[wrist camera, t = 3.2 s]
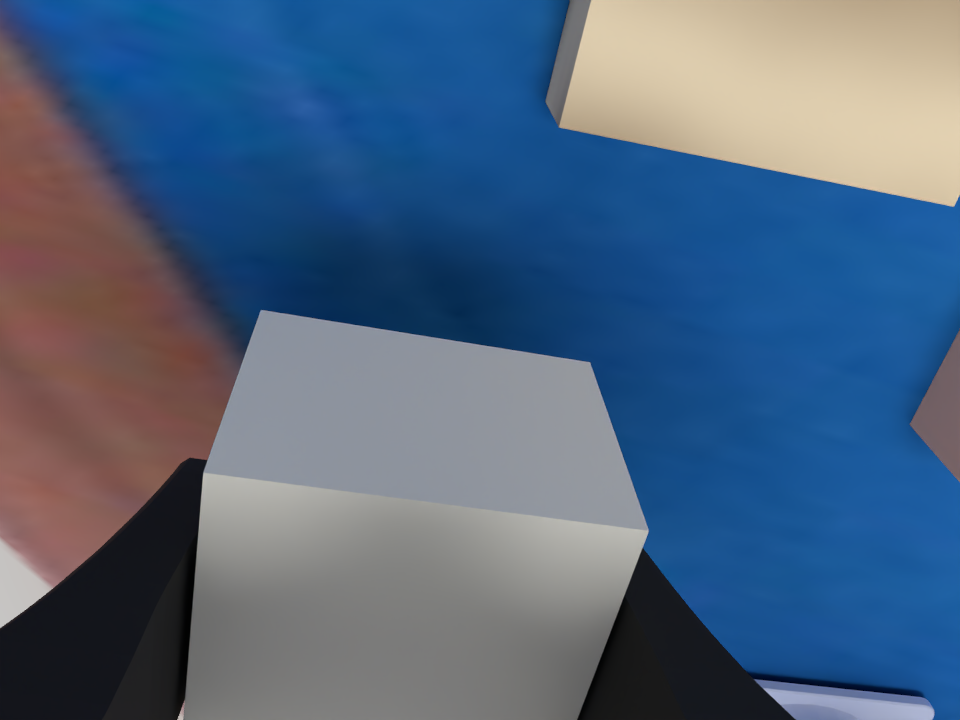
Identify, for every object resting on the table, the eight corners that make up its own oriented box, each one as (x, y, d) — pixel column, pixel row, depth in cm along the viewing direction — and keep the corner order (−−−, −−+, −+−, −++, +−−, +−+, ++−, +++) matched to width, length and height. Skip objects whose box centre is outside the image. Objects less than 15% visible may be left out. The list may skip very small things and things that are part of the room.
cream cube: (516, 601, 16) (543, 806, 13) (233, 569, 15) (179, 777, 12) (589, 361, 14) (648, 531, 10) (260, 309, 13) (203, 472, 9)
